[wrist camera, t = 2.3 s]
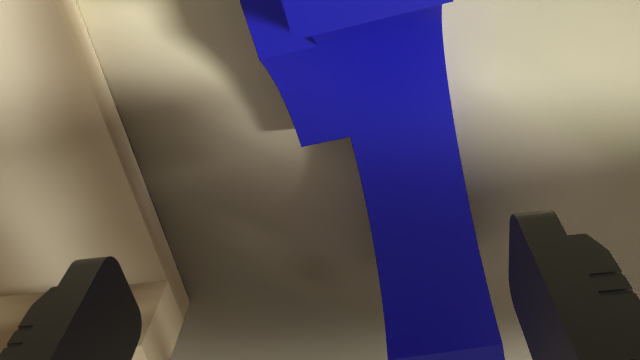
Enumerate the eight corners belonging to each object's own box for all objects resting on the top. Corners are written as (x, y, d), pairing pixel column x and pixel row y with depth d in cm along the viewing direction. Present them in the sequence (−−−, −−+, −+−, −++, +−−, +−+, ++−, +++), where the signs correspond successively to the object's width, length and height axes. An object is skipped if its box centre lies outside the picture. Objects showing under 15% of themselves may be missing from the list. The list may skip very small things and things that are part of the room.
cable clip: (244, -71, 15) (190, -19, 10) (410, -118, 15) (440, -88, 9) (348, 264, 21) (346, 402, 16) (470, 244, 21) (508, 382, 15)
